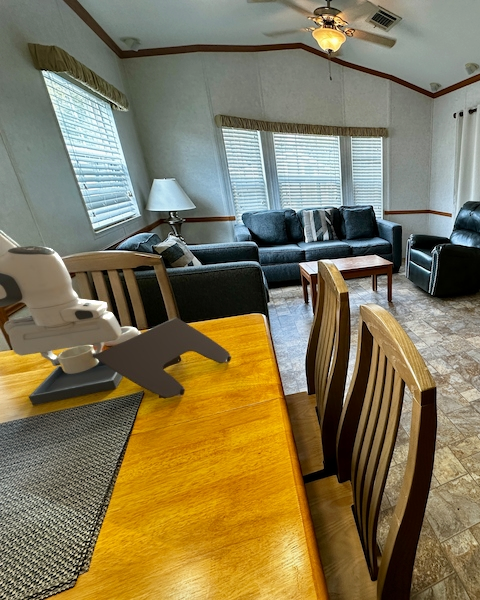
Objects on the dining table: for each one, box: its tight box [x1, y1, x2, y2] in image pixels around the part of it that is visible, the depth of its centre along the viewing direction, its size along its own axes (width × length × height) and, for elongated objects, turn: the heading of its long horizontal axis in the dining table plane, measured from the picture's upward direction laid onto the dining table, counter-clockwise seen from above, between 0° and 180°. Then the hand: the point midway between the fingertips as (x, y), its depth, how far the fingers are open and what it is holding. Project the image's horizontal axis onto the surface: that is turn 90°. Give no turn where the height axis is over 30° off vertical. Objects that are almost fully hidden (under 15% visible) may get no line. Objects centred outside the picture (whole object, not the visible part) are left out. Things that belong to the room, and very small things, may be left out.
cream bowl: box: [56, 345, 99, 374], centre depth 85 cm, size 7×7×4 cm
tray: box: [28, 361, 124, 406], centre depth 87 cm, size 16×14×3 cm
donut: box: [103, 326, 140, 347], centre depth 108 cm, size 10×4×10 cm
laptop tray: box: [93, 317, 232, 399], centre depth 90 cm, size 23×23×9 cm
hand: (79, 360), depth 85 cm, fingers closed on cream bowl, 7 cm apart
